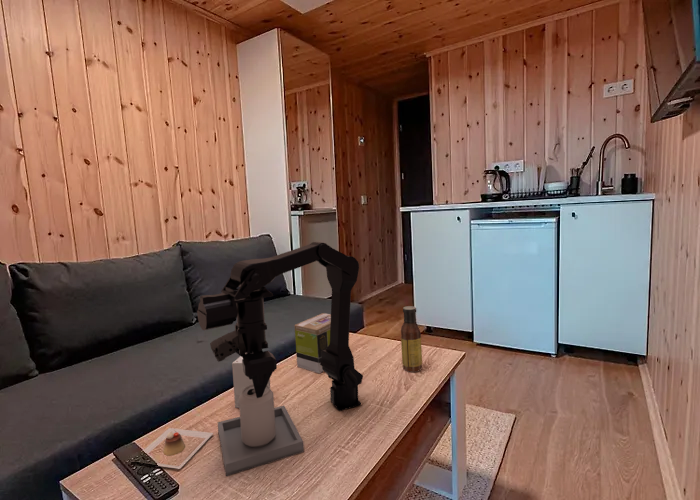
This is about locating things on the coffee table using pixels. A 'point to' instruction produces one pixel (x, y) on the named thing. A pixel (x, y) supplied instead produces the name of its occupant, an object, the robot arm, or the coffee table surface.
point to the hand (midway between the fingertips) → (255, 387)
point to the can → (257, 417)
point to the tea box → (312, 341)
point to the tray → (247, 457)
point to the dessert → (176, 443)
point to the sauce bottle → (411, 341)
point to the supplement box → (240, 379)
